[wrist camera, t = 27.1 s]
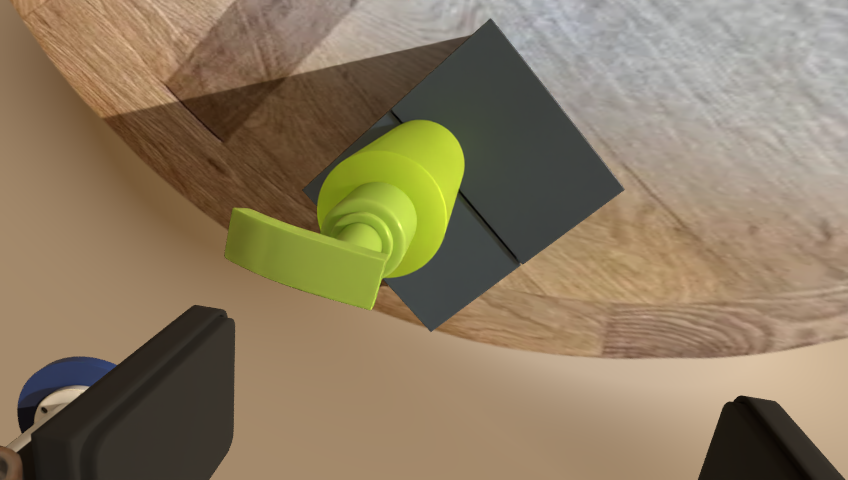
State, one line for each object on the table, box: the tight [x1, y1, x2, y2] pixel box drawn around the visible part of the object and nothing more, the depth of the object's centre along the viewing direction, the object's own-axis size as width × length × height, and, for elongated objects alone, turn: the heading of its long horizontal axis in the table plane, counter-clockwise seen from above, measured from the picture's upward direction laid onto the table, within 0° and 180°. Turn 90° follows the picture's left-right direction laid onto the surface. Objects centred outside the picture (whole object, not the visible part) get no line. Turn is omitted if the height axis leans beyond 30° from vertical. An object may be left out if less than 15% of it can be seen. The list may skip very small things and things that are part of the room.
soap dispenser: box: [224, 120, 464, 310], centre depth 27 cm, size 6×7×20 cm
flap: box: [302, 110, 520, 332], centre depth 38 cm, size 8×14×1 cm, turn 41°
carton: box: [357, 18, 625, 264], centre depth 42 cm, size 17×14×11 cm
